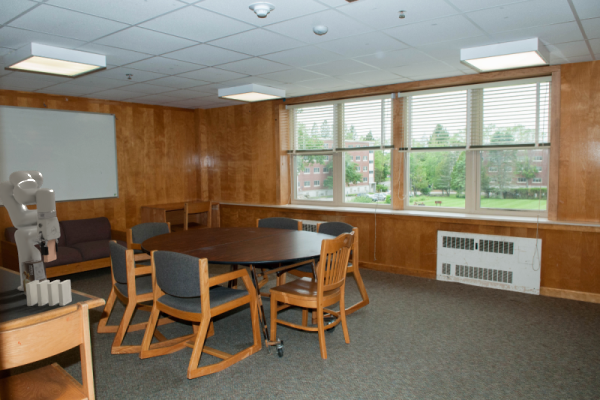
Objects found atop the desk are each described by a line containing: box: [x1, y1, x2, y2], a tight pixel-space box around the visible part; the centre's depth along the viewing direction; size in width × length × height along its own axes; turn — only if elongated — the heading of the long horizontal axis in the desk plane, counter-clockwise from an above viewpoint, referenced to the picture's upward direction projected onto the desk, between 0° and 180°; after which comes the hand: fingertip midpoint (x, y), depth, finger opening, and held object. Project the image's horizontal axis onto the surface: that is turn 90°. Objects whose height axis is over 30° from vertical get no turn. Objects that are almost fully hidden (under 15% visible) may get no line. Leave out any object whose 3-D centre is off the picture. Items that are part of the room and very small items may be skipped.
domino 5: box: [58, 279, 73, 307], centre depth 185 cm, size 2×6×10 cm, turn 176°
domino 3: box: [43, 239, 57, 263], centre depth 194 cm, size 2×6×10 cm, turn 176°
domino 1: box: [26, 280, 39, 307], centre depth 186 cm, size 2×6×10 cm, turn 176°
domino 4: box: [47, 279, 61, 307], centre depth 186 cm, size 2×6×10 cm, turn 176°
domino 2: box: [36, 279, 50, 307], centre depth 186 cm, size 2×6×10 cm, turn 176°
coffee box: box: [21, 259, 48, 296], centre depth 201 cm, size 9×6×16 cm
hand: (49, 253), depth 194 cm, fingers closed on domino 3, 5 cm apart
